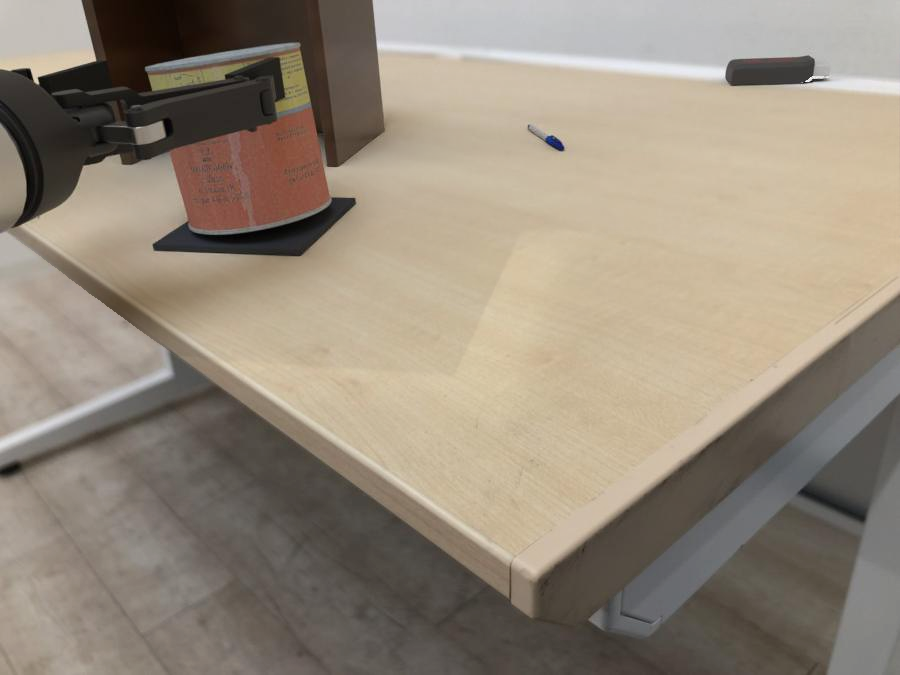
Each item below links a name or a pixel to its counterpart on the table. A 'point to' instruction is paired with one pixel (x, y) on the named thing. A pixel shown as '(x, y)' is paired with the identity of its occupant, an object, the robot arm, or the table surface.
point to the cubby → (246, 26)
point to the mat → (260, 235)
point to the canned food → (249, 151)
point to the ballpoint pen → (547, 138)
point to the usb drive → (775, 70)
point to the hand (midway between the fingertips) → (190, 78)
